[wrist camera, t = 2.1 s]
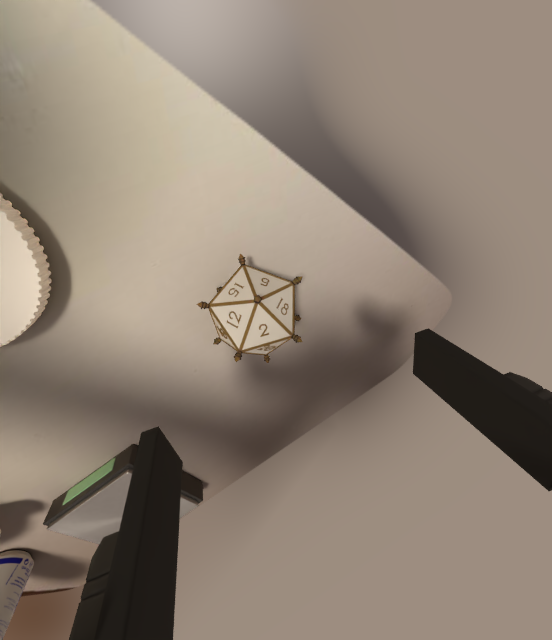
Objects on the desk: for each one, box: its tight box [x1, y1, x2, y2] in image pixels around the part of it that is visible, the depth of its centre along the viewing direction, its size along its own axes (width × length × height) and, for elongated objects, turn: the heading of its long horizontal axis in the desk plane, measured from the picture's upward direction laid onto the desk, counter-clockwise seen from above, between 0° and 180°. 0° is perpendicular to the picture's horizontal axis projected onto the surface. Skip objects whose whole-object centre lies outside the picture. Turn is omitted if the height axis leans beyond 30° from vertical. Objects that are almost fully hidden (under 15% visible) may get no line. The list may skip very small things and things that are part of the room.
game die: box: [197, 254, 302, 363], centre depth 23 cm, size 9×8×10 cm
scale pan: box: [47, 468, 198, 544], centre depth 31 cm, size 11×11×1 cm
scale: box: [43, 444, 203, 526], centre depth 33 cm, size 12×12×2 cm
